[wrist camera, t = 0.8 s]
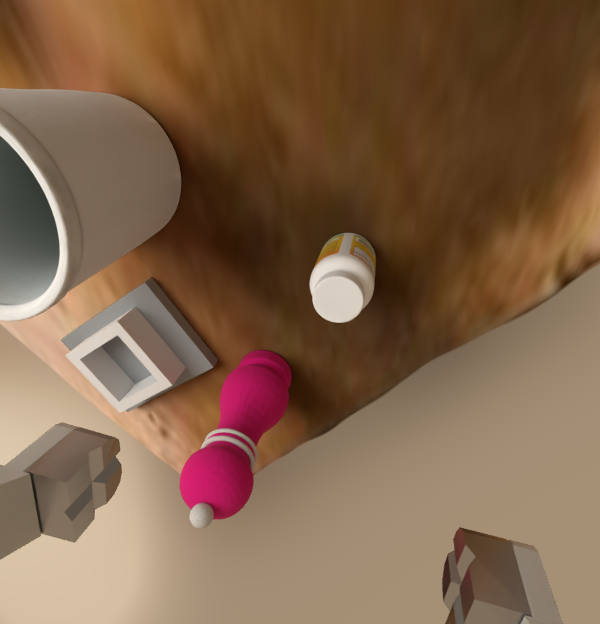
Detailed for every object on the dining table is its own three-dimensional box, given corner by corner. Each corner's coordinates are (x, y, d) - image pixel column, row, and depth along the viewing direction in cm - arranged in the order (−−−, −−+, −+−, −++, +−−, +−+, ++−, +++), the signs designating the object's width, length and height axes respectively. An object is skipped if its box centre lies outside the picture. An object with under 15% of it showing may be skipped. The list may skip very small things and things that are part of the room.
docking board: (68, 333, 52) (39, 355, 47) (151, 277, 46) (126, 295, 42) (133, 404, 55) (111, 431, 51) (218, 360, 49) (201, 385, 45)
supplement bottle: (319, 281, 43) (302, 327, 34) (321, 229, 40) (304, 264, 32) (373, 286, 42) (369, 335, 33) (379, 233, 39) (376, 271, 31)
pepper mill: (263, 334, 47) (187, 475, 29) (309, 376, 48) (263, 536, 30) (223, 368, 50) (134, 515, 32) (267, 407, 51) (205, 568, 34)
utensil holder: (157, 271, 46) (40, 359, 30) (33, 196, 44) (-156, 247, 29) (212, 147, 39) (96, 179, 23) (66, 53, 37) (-159, 21, 22)
